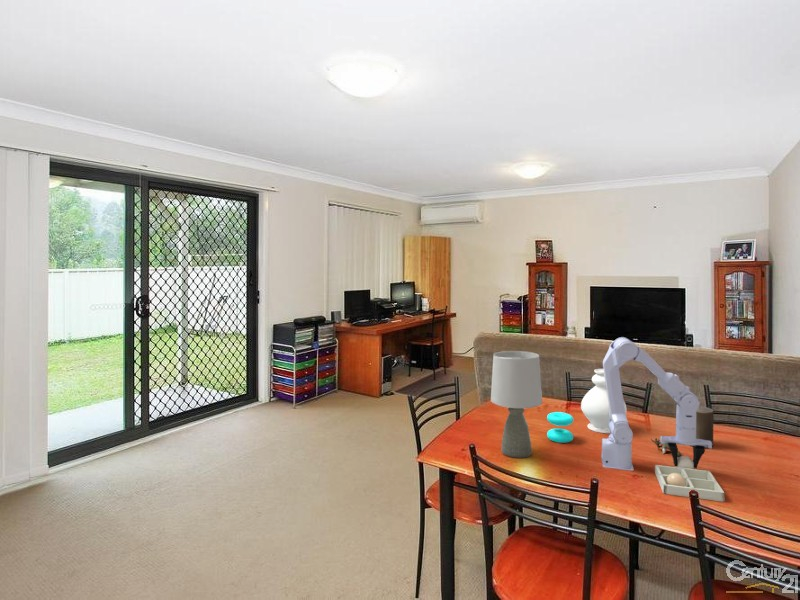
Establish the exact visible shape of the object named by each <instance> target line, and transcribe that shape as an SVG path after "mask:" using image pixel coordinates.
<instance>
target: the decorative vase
mask: <svg viewBox="0 0 800 600" xmlns="http://www.w3.org/2000/svg"><path fill="white" fill-rule="evenodd" d="M593 373H595V374H594V375H592V377H591V382H592V383H593V384H594V385H595V386H593V387H592V388H591V389H590V390H588V391H587V392H586V394H585V395H584V396H583V397H582V400H581V402H580V409H581V411H582V413H583V415H584V416H585V418H587V420H588V421H589V422H590V423H588V424H587V428H588V429H589V430H591V431H592V432H596V433H600V434H611V432H610V430H609V428H608V423H609V420H610V417H609V414H610V409H609V402H608V396H607V389H606V383H605V376H604V369H603V368H596V369H595V368H594V372H593ZM623 401H624V407H625V414H626V415H627V412H628V411H627V410H628V409H627V408H628V407H627V405H626V402H625V400H624V399H623Z"/></svg>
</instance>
